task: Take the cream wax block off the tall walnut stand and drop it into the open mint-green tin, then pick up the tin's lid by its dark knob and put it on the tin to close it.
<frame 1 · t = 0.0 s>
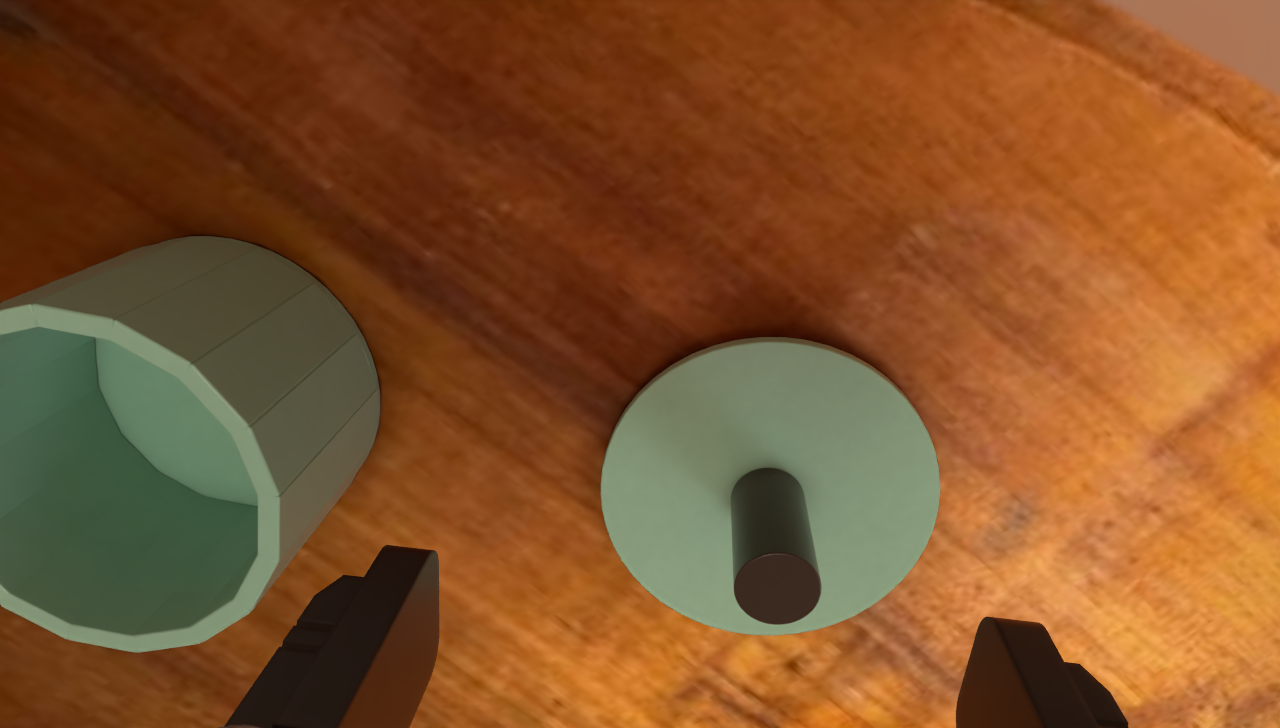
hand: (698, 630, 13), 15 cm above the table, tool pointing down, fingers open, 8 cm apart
tin: (234, 382, 29), on the table
tin lid: (766, 491, 29), point 1 cm above the table
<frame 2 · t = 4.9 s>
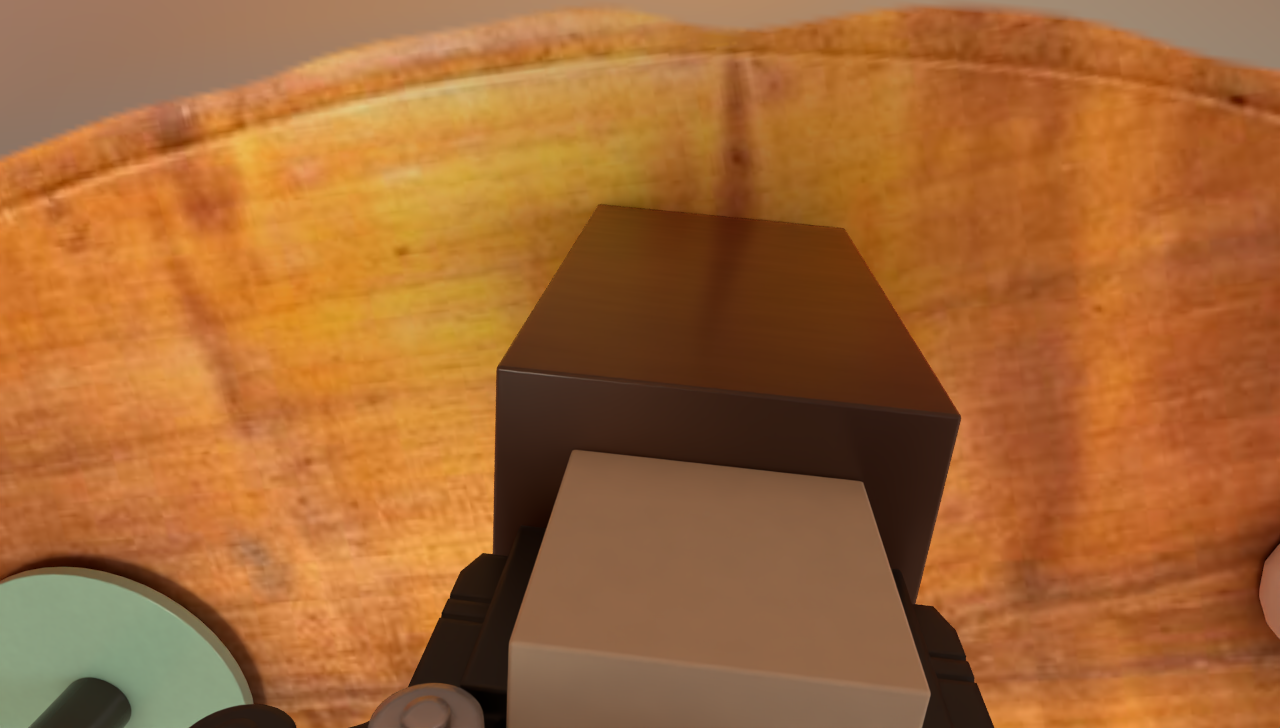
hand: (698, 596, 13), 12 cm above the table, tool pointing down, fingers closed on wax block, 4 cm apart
tin lid: (108, 693, 31), point 1 cm above the table
wax block: (701, 584, 14), point 12 cm above the table, touching gripper, stand
stand: (706, 331, 25), on the table
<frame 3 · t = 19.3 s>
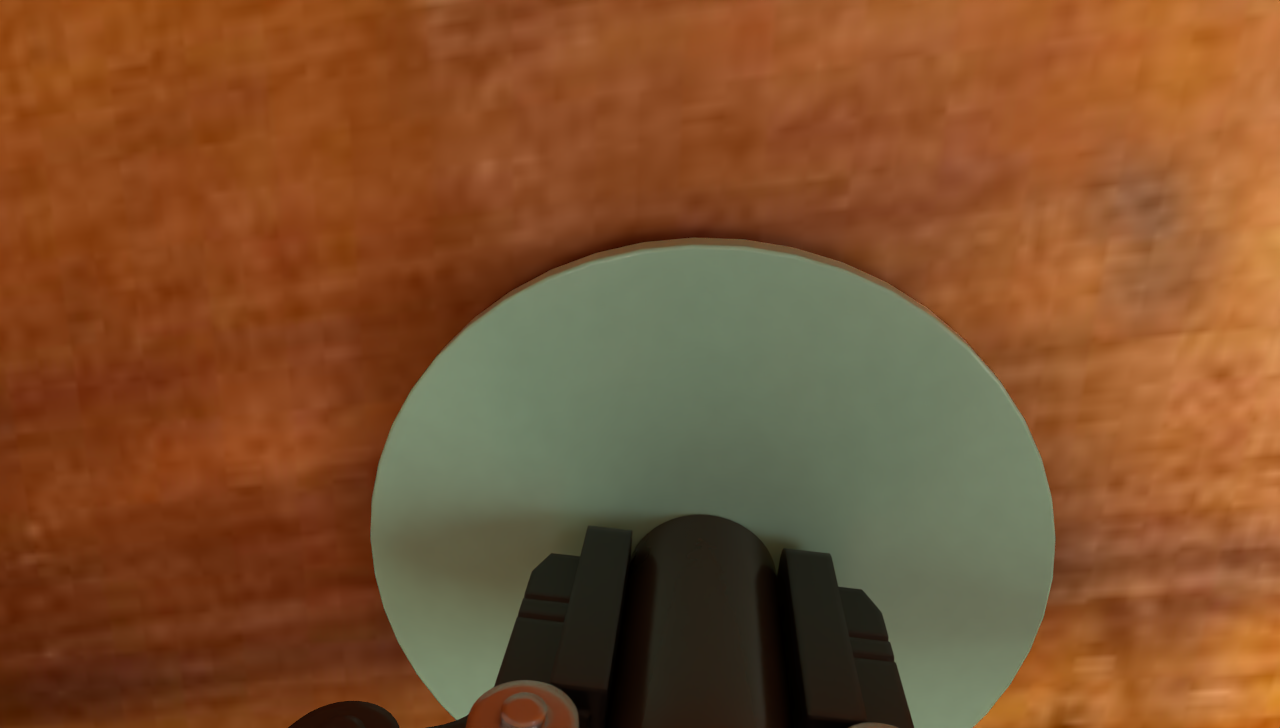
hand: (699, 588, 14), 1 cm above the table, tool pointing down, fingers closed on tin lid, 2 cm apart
tin lid: (701, 559, 14), point 1 cm above the table, touching gripper
when the fingers open (8 cm above the table, at t = 24.8 s): tin lid stays where it is, resting on tin.
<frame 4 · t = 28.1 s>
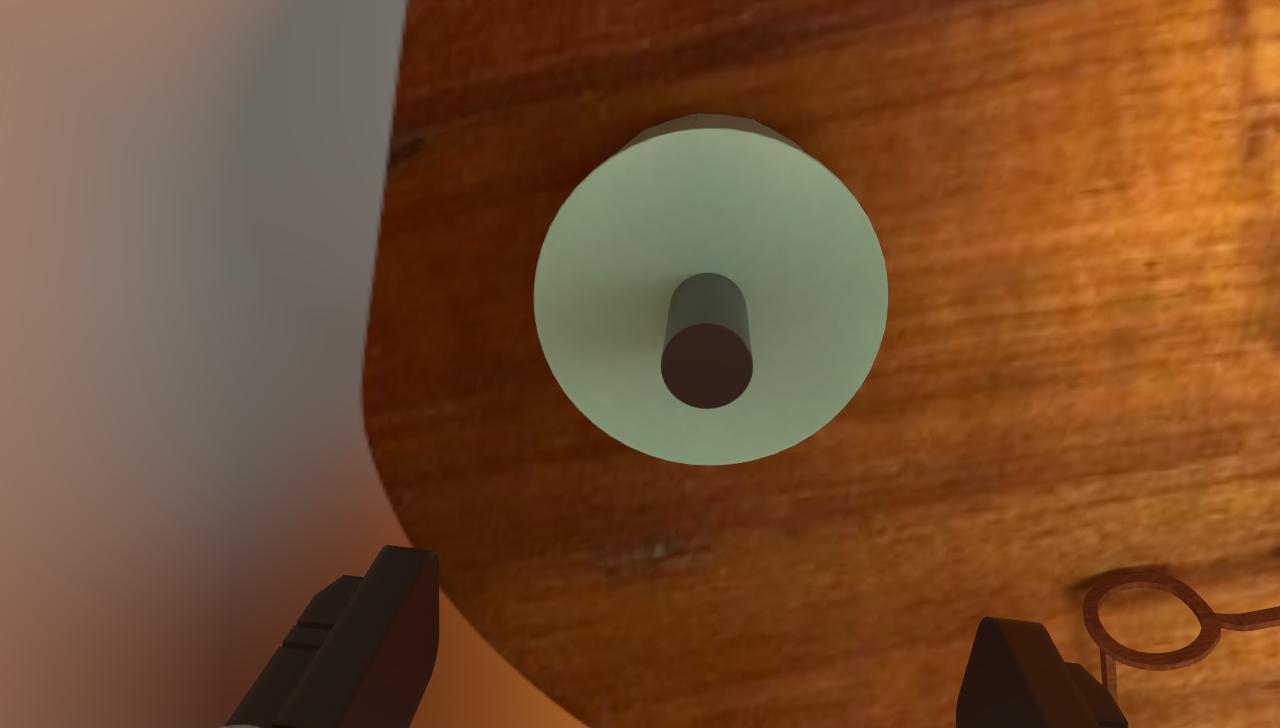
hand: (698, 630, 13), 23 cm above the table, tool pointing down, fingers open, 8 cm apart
tin: (707, 247, 34), on the table
tin lid: (707, 304, 27), point 7 cm above the table, touching tin
glasses: (1229, 662, 40), on the table
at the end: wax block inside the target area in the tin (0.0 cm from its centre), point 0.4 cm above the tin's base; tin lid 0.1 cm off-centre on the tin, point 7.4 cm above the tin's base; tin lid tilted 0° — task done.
